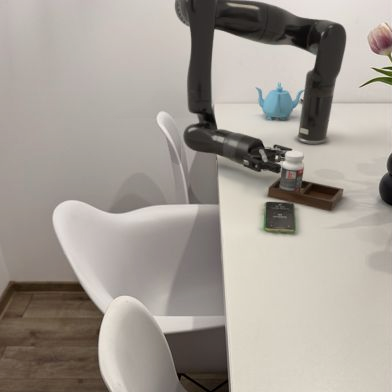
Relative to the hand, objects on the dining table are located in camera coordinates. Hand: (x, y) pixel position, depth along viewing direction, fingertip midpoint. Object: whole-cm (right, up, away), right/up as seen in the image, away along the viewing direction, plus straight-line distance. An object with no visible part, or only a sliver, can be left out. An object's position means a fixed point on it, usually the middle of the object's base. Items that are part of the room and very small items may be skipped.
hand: (290, 164), depth 125 cm
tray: (+4, -8, +3) cm, 9 cm away
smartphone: (-4, -16, -7) cm, 18 cm away
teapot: (+6, +39, +56) cm, 68 cm away
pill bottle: (+1, -6, +4) cm, 7 cm away
